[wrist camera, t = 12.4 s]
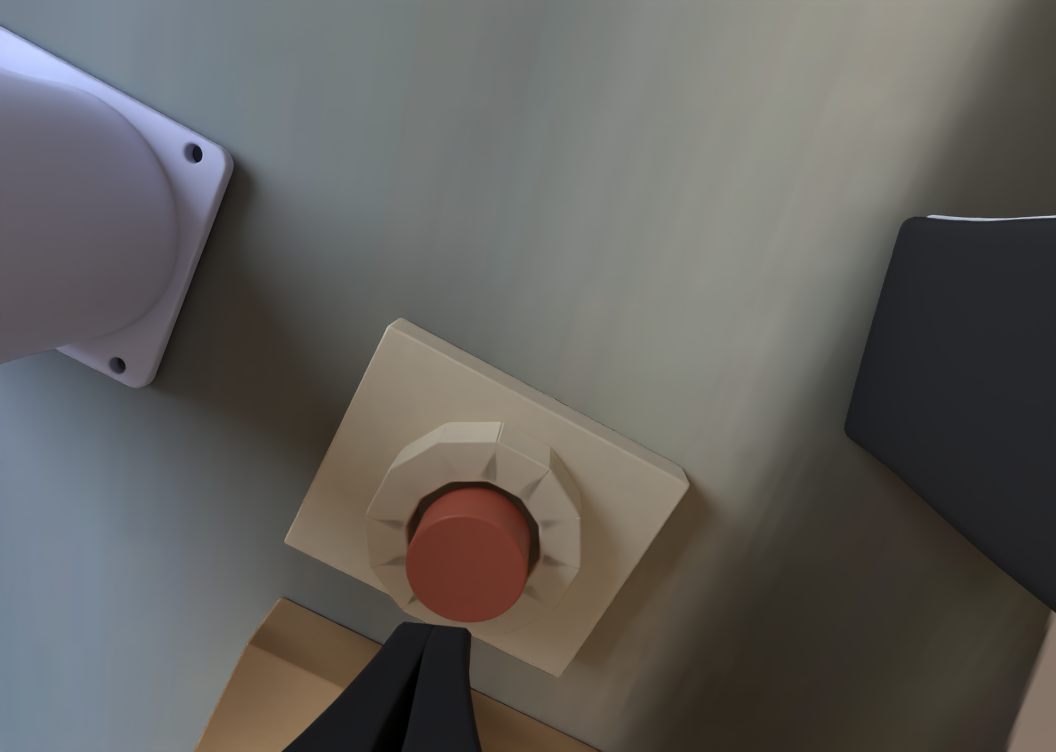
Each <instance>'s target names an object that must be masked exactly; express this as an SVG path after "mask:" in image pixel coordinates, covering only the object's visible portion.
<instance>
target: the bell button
mask: <svg viewBox="0 0 1056 752" xmlns="http://www.w3.org/2000/svg"><path fill="white" fill-rule="evenodd" d="M529 552H530V531H529V527H528V524H527V521H526V519H525V517H524V515H523V514H522V512H521V511H520V509H519V508H518V507H517V506H516V505H515V504H514V503H513V502H512V501H511V500H510V499H508V498H507V497H505V496H504V495H502V494H500V493H498V492H496V491H494V490H491V489H487V488H482V487H472V486H471V487H462V488H457V489H453V490H450V491H448V492H446V493H444V494H442V495H441V496H439V497H438V498H436V499H435V500H434V501H433V502H432V503H431V504H430V505H429V506H428V508H427V509H426V511H425V512H424V514H423V517H422V519H421V521H420V523H419V525H418V528H417V530H416V532H415V534H414V536H413V539H412V541H411V543H410V545H409V548H408V551H407V554H406V561H405V566H406V575H407V578H408V582H409V585H410V587H411V589H412V591H413V592H414V594H415V595H416V597H417V598H418V599H419V600H420V602H421V603H422V604H423V605H424V606H426V607H427V608H428V609H429V610H431V611H432V612H434V613H436V614H437V615H439V616H441V617H444V618H446V619H449V620H453V621H458V622H466V623H473V622H482V621H486V620H490V619H493V618H495V617H497V616H499V615H501V614H503V613H504V612H506V611H507V610H508V609H509V608H511V607H512V606H513V605H514V604H515V603H516V601H517V600H518V599H519V597H520V596H521V594H522V592H523V590H524V587H525V584H526V580H527V572H528V562H529Z"/></svg>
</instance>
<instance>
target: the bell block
mask: <svg viewBox="0 0 1056 752" xmlns="http://www.w3.org/2000/svg"><path fill="white" fill-rule="evenodd" d="M471 486H472V487H482V488H487V489H491V490H494V491H496V492H498V493H500V494H502V495H504V496H505V497H507V498H508V499H510V500H511V501H512V502H513V503H514V504H515V505H516V506H517V507H518V508H519V509H520V511H521V512H522V514H523V515H524V517H525V519H526V521H527V524H528V527H529V531H530V552H529V562H528V572H527V580H526V584H525V587H524V590H523V592H522V594H521V596H520V597H519V599H518V600H517V601H516V603H515V604H514V605H513V606H512V607H511V608H509V609H508V610H507V611H506V612H504V613H503V614H501V615H499V616H497V617H495V618H493V619H490V620H486V621H482V622H473V623H466V622H458V621H453V620H449V619H446V618H444V617H441V616H439V615H437V614H436V613H434V612H432V611H431V610H429V609H428V608H427V607H426V606H424V605H423V604H422V603H421V602H420V600H419V599H418V598H417V597H416V595H415V594H414V592H413V591H412V589H411V587H410V585H409V582H408V578H407V575H406V566H405V561H406V554H407V551H408V548H409V545H410V543H411V541H412V539H413V536H414V534H415V532H416V530H417V528H418V525H419V523H420V521H421V519H422V517H423V514H424V512H425V511H426V509H427V508H428V506H429V505H430V504H431V503H432V502H433V501H434V500H435V499H436V498H438V497H439V496H441V495H442V494H444V493H446V492H448V491H450V490H453V489H457V488H462V487H471ZM689 487H690V484H689V482H688V480H687V478H686V475H685V473H684V471H683V469H682V467H681V466H679V465H677V464H675V463H673V462H671V461H669V460H667V459H666V458H664V457H662V456H660V455H658V454H656V453H654V452H652V451H651V450H649V449H647V448H645V447H643V446H641V445H639V444H637V443H636V442H634V441H632V440H630V439H628V438H626V437H624V436H622V435H621V434H619V433H617V432H615V431H613V430H611V429H609V428H607V427H606V426H604V425H602V424H600V423H598V422H596V421H594V420H592V419H591V418H589V417H587V416H585V415H583V414H581V413H579V412H577V411H576V410H574V409H572V408H570V407H568V406H566V405H564V404H562V403H561V402H559V401H557V400H555V399H553V398H551V397H549V396H547V395H546V394H544V393H542V392H540V391H538V390H536V389H534V388H532V387H531V386H529V385H527V384H525V383H523V382H521V381H519V380H518V379H516V378H514V377H512V376H510V375H508V374H506V373H504V372H503V371H501V370H499V369H497V368H495V367H493V366H491V365H489V364H488V363H486V362H484V361H482V360H480V359H478V358H476V357H474V356H473V355H471V354H469V353H467V352H465V351H463V350H461V349H459V348H458V347H456V346H454V345H452V344H450V343H448V342H446V341H444V340H443V339H441V338H439V337H437V336H435V335H433V334H431V333H429V332H428V331H426V330H424V329H422V328H420V327H418V326H416V325H414V324H413V323H411V322H409V321H407V320H405V319H403V318H399V319H398V320H396V321H395V322H393V323H392V324H390V325H389V326H388V327H387V329H386V331H385V333H384V335H383V337H382V339H381V341H380V343H379V345H378V347H377V350H376V352H375V354H374V356H373V358H372V360H371V362H370V364H369V366H368V368H367V370H366V372H365V374H364V376H363V379H362V381H361V383H360V385H359V387H358V389H357V391H356V393H355V395H354V397H353V399H352V401H351V403H350V406H349V408H348V410H347V412H346V414H345V416H344V418H343V420H342V422H341V424H340V426H339V428H338V430H337V432H336V435H335V437H334V439H333V441H332V443H331V445H330V447H329V449H328V451H327V453H326V455H325V457H324V459H323V462H322V464H321V466H320V468H319V470H318V472H317V474H316V476H315V478H314V480H313V482H312V484H311V486H310V489H309V491H308V493H307V495H306V497H305V499H304V501H303V503H302V505H301V507H300V509H299V511H298V513H297V515H296V518H295V520H294V522H293V524H292V526H291V528H290V530H289V532H288V534H287V536H286V538H285V544H287V545H289V546H291V547H293V548H295V549H297V550H299V551H301V552H304V553H306V554H308V555H310V556H312V557H314V558H316V559H318V560H320V561H322V562H324V563H326V564H328V565H330V566H332V567H334V568H336V569H338V570H340V571H342V572H344V573H346V574H348V575H350V576H352V577H354V578H356V579H358V580H360V581H362V582H364V583H366V584H368V585H370V586H372V587H374V588H376V589H379V590H381V591H383V592H385V593H387V594H389V595H391V596H392V598H393V599H394V600H395V602H396V603H397V604H398V606H399V607H400V608H401V609H402V611H403V612H405V613H407V614H409V615H411V616H413V617H415V618H418V619H420V620H422V621H424V622H426V623H428V624H433V625H443V626H453V627H464V628H467V629H468V630H469V632H470V633H471V635H472V636H474V637H476V638H478V639H480V640H482V641H484V642H486V643H488V644H490V645H492V646H494V647H496V648H498V649H500V650H502V651H504V652H506V653H508V654H510V655H512V656H514V657H516V658H518V659H520V660H522V661H524V662H527V663H529V664H531V665H533V666H535V667H537V668H539V669H541V670H543V671H545V672H547V673H549V674H551V675H553V676H555V677H557V678H560V677H561V676H562V674H563V673H564V671H565V670H566V668H567V667H568V665H569V664H570V663H571V661H572V660H573V658H574V657H575V655H576V654H577V652H578V651H579V649H580V648H581V646H582V645H583V643H584V642H585V640H586V639H587V638H588V636H589V635H590V633H591V632H592V630H593V629H594V627H595V626H596V624H597V623H598V621H599V620H600V618H601V617H602V615H603V614H604V612H605V611H606V610H607V608H608V607H609V605H610V604H611V602H612V601H613V599H614V598H615V596H616V595H617V593H618V592H619V590H620V589H621V587H622V586H623V585H624V583H625V582H626V580H627V579H628V577H629V576H630V574H631V573H632V571H633V570H634V568H635V567H636V565H637V564H638V562H639V561H640V560H641V558H642V557H643V555H644V554H645V552H646V551H647V549H648V548H649V546H650V545H651V543H652V542H653V540H654V539H655V537H656V536H657V534H658V533H659V532H660V530H661V529H662V527H663V526H664V524H665V523H666V521H667V520H668V518H669V517H670V515H671V514H672V512H673V511H674V509H675V508H676V507H677V505H678V504H679V502H680V501H681V499H682V498H683V496H684V495H685V493H686V492H687V490H688V489H689Z"/></svg>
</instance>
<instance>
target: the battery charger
mask: <svg viewBox="0 0 1056 752" xmlns="http://www.w3.org/2000/svg"><path fill="white" fill-rule="evenodd" d="M844 430H845V433H846V435H847V436H848V437H849V438H850V439H852V440H853V441H855V442H856V443H857V444H859V445H860V446H861V447H863V448H864V449H866V450H867V451H868V452H870V453H871V454H872V455H873V456H874V457H876V458H877V459H878V460H879V461H881V462H882V463H883V464H885V465H886V466H887V467H888V468H890V469H891V470H892V471H893V472H894V473H895V474H897V475H898V476H899V477H900V478H901V479H902V480H903V481H904V482H905V483H906V484H907V485H908V486H909V487H910V488H912V489H913V490H914V491H915V492H916V493H917V494H918V495H919V496H920V497H921V498H922V499H923V500H924V501H925V502H926V503H927V504H929V505H930V506H931V507H932V508H933V509H934V510H935V511H936V512H937V513H938V514H939V515H941V516H942V517H943V518H944V519H945V520H946V521H947V522H948V523H949V524H950V525H951V526H953V527H954V528H955V529H956V530H957V531H958V532H959V533H960V534H961V535H963V536H964V537H965V538H966V539H967V540H968V541H969V542H970V543H971V544H973V545H974V546H975V547H976V548H977V549H978V550H980V551H981V552H982V553H983V554H984V555H985V556H987V557H988V558H989V559H990V560H991V561H992V562H994V563H995V564H996V565H997V566H998V567H999V568H1001V569H1002V570H1003V571H1004V572H1006V573H1007V574H1008V575H1009V576H1010V577H1012V578H1013V579H1014V580H1015V581H1017V582H1018V583H1019V584H1020V585H1022V586H1023V587H1024V588H1025V589H1027V590H1028V591H1029V592H1030V593H1032V594H1033V595H1034V596H1035V597H1037V598H1038V599H1039V600H1040V601H1042V602H1043V603H1044V604H1045V605H1047V606H1048V607H1049V608H1050V609H1052V610H1053V611H1054V612H1056V216H1040V217H1025V218H1010V219H987V218H961V217H949V216H939V215H930V216H927V217H912V218H910V219H907V220H906V221H905V222H904V223H903V224H902V226H901V228H900V230H899V234H898V237H897V240H896V244H895V247H894V250H893V254H892V257H891V260H890V264H889V267H888V270H887V274H886V277H885V281H884V284H883V288H882V291H881V295H880V298H879V301H878V305H877V308H876V312H875V315H874V319H873V322H872V326H871V329H870V333H869V336H868V340H867V344H866V347H865V351H864V355H863V358H862V362H861V366H860V369H859V373H858V376H857V380H856V384H855V387H854V391H853V395H852V399H851V403H850V406H849V410H848V414H847V418H846V422H845V427H844Z"/></svg>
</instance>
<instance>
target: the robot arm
mask: <svg viewBox="0 0 1056 752" xmlns="http://www.w3.org/2000/svg"><path fill="white" fill-rule="evenodd" d="M197 145H198V146H199V147H200V148H201V150H202V153H203V156H202V160H201V161H200V162H199V163H197V162H196V161H195V160H194V158H193V156H192V153H193V149H194V148H195V146H197ZM233 167H234V164H233V159H232V157H231V155H230V153H229V152H228V151H227V150H226V149H225V148H223V147H222V146H220V145H218V144H216V143H215V142H213V141H211V140H209V139H207V138H205V137H204V136H202V135H200V134H198V133H196V132H194V131H192V130H191V129H189V128H187V127H185V126H183V125H181V124H180V123H178V122H176V121H174V120H172V119H170V118H169V117H167V116H165V115H163V114H161V113H159V112H158V111H156V110H154V109H152V108H150V107H148V106H147V105H145V104H143V103H141V102H139V101H137V100H136V99H134V98H132V97H130V96H128V95H126V94H125V93H123V92H121V91H119V90H117V89H115V88H113V87H112V86H110V85H108V84H106V83H104V82H102V81H101V80H99V79H97V78H95V77H93V76H91V75H90V74H88V73H86V72H84V71H82V70H80V69H79V68H77V67H75V66H73V65H71V64H69V63H68V62H66V61H64V60H62V59H60V58H58V57H57V56H55V55H53V54H51V53H49V52H47V51H45V50H44V49H42V48H40V47H38V46H36V45H34V44H33V43H31V42H29V41H27V40H25V39H23V38H22V37H20V36H18V35H16V34H14V33H12V32H11V31H9V30H7V29H5V28H3V27H1V26H0V364H1V363H4V362H8V361H11V360H15V359H19V358H22V357H26V356H29V355H33V354H36V353H40V352H43V351H47V350H50V349H56V350H58V351H60V352H62V353H64V354H66V355H68V356H70V357H72V358H74V359H75V360H77V361H79V362H81V363H83V364H85V365H87V366H89V367H91V368H93V369H95V370H97V371H99V372H101V373H103V374H105V375H107V376H109V377H111V378H113V379H115V380H117V381H119V382H121V383H123V384H125V385H127V386H129V387H133V388H141V387H143V386H145V385H147V384H149V383H151V382H152V381H153V379H154V378H155V375H156V373H157V370H158V367H159V365H160V362H161V359H162V357H163V354H164V351H165V349H166V346H167V344H168V341H169V338H170V336H171V333H172V330H173V328H174V325H175V322H176V320H177V317H178V315H179V312H180V309H181V307H182V304H183V301H184V299H185V296H186V294H187V291H188V288H189V286H190V283H191V280H192V278H193V275H194V272H195V270H196V267H197V265H198V262H199V259H200V257H201V254H202V251H203V249H204V246H205V243H206V241H207V238H208V236H209V233H210V230H211V228H212V225H213V222H214V220H215V217H216V214H217V212H218V209H219V207H220V204H221V201H222V199H223V196H224V193H225V191H226V188H227V185H228V183H229V180H230V178H231V175H232V172H233ZM118 358H121V359H122V360H123V361H124V363H125V365H126V369H125V370H123V369H122V368H121V367H120V366H119V364H118ZM470 648H471V633H470V632H469V630H468V629H467V628H464V627H453V626H443V625H433V624H423V623H413V622H403V623H402V624H400V625H399V626H398V627H397V628H396V630H395V631H394V632H393V634H392V635H391V636H390V637H389V639H388V640H387V641H386V642H385V644H384V645H383V646H382V647H381V649H380V650H379V651H378V652H377V654H376V655H375V656H374V657H373V658H372V659H371V661H370V662H369V663H368V664H367V665H366V667H365V668H364V669H363V670H362V671H361V672H360V673H359V674H358V676H357V677H356V678H355V679H354V680H353V681H352V682H351V683H350V684H349V685H348V687H347V688H346V689H345V690H344V691H343V692H342V693H341V694H340V695H339V696H338V697H337V698H336V700H335V701H334V702H333V703H332V704H331V705H330V706H329V707H328V708H327V709H326V710H325V711H324V712H323V713H322V714H321V715H320V716H318V717H317V718H316V719H315V720H314V721H313V722H312V723H311V724H310V725H309V726H308V727H307V728H306V729H305V730H304V731H303V732H302V733H301V734H300V735H299V736H298V737H297V738H296V739H295V740H294V741H292V742H291V743H290V744H289V745H288V746H287V747H286V748H285V749H284V750H282V751H281V752H482V748H481V744H480V740H479V736H478V731H477V726H476V721H475V715H474V709H473V703H472V696H471V689H470V680H469V665H470Z"/></svg>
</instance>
